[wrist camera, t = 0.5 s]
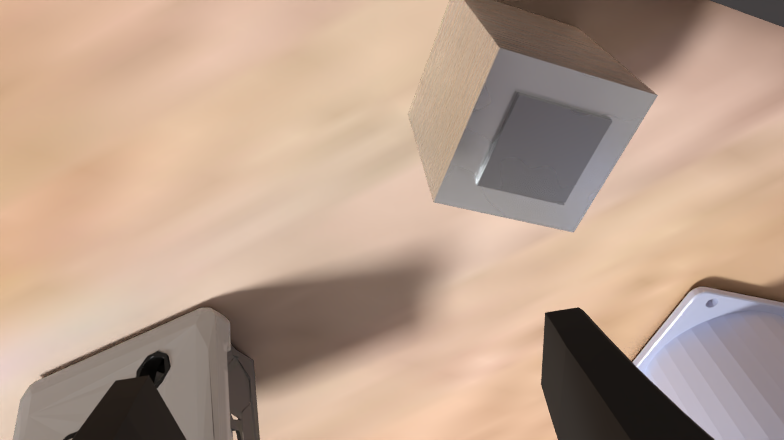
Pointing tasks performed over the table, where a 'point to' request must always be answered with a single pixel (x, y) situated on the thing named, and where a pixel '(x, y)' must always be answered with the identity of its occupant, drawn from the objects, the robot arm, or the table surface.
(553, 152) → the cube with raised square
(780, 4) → the dark grey flat block
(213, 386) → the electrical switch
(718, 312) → the robot arm
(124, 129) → the table surface
